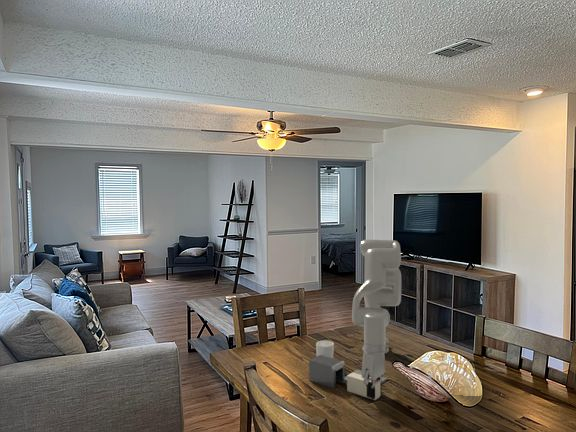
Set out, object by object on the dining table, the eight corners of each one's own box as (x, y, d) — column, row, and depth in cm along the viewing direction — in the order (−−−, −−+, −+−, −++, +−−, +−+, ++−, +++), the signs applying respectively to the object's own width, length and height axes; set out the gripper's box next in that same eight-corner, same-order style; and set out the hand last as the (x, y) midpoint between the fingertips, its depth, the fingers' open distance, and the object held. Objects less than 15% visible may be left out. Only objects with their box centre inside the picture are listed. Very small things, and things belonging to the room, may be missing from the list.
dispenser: (320, 374, 183) (320, 354, 183) (344, 382, 175) (344, 361, 175) (309, 380, 177) (309, 359, 177) (333, 388, 170) (333, 367, 169)
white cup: (333, 369, 188) (333, 347, 188) (314, 368, 190) (314, 345, 189) (334, 363, 196) (334, 341, 195) (317, 361, 197) (317, 340, 197)
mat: (357, 370, 187) (357, 369, 187) (387, 379, 178) (387, 378, 178) (341, 380, 178) (341, 378, 178) (372, 389, 169) (372, 388, 169)
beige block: (352, 387, 171) (352, 372, 171) (380, 396, 163) (380, 380, 163) (347, 391, 168) (347, 375, 167) (375, 400, 160) (375, 384, 160)
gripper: (376, 339, 171) (376, 384, 171) (353, 350, 158) (353, 400, 159) (393, 343, 166) (393, 390, 167) (372, 355, 153) (371, 406, 154)
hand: (374, 394), depth 163 cm, fingers closed on beige block, 4 cm apart
